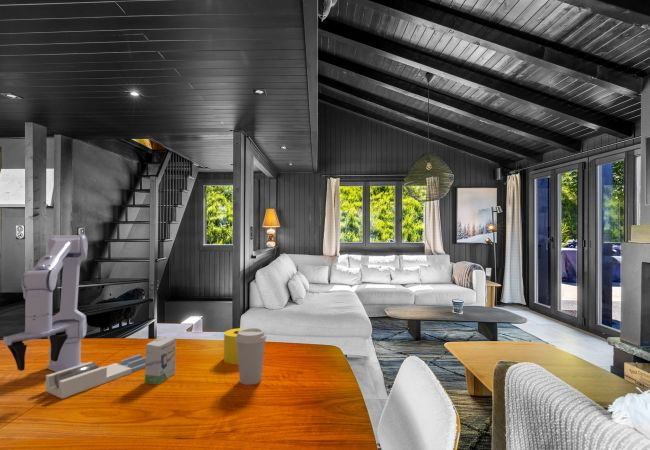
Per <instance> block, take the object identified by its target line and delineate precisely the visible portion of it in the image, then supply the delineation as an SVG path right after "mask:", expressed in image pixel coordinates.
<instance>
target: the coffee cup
mask: <svg viewBox="0 0 650 450" xmlns="http://www.w3.org/2000/svg"><path fill="white" fill-rule="evenodd" d="M266 340H267V334H266V333H265V331H264V329H262V328H255V327H251V328H245V329H243V330H240V331H238V334H237V335H236V338H235V341H237V351H238V364H237V365H238V375H239V376H238V377H239V383H240V384H242V385H246V386H251V385H257V384H259V383H260V382H261V381H262V376H263V375H262V374H263V365H264V351H265V343H266Z"/></svg>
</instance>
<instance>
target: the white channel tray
mask: <svg viewBox="0 0 650 450" xmlns="http://www.w3.org/2000/svg"><path fill="white" fill-rule="evenodd" d="M84 363H85V364H81V365H78V366H75V367H72V368H68V369H65V370H62V371H59V372H55V371H54V372H53V373H49V374H45V392H47V393H49V394H51V395H53V396H56V397H58V398H60V399H62V400H63V399H66V398H68V397H70V396H73V395H74V396H75V395H76V394H78V393H81V392H84V391H87V390H90V389H92V388H95V387H99V386H100V385H103V384H106V383H108V382H112V381H114V380H117V379H119V378H122V377H126V376H127V375H130V374H132V373H133V372H132V368H129V367H126V366H123V365H120V363H116V362H114V363H111V364H109V365H105V366H104V365H103V366H100V367H98V368H97V369H94V370H91V371H88V372H85V373H82V374H79V375H75V376H72V377H69V378H66V379H63V380H60V381H59V388H57V387H56V385H55V382H54V378H55V375H56V374H58V373H61V372H65V371H68V370H71V369H74V368H77V367H81V366H84V365H87V364H90V363H93V362H92V361H87V362H84Z"/></svg>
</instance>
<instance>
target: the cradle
mask: <svg viewBox="0 0 650 450" xmlns="http://www.w3.org/2000/svg"><path fill="white" fill-rule="evenodd" d="M145 360H146V356H144V357H143V354H141V353H140V354H139V353H138V354H137V355H133V356H130V357H128V358H125V359H121V360H120V363H119V364H120V365H123V366H126V367H129V368H132V373H134V372H137V371H139V370H142V369H144V368H145Z"/></svg>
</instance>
